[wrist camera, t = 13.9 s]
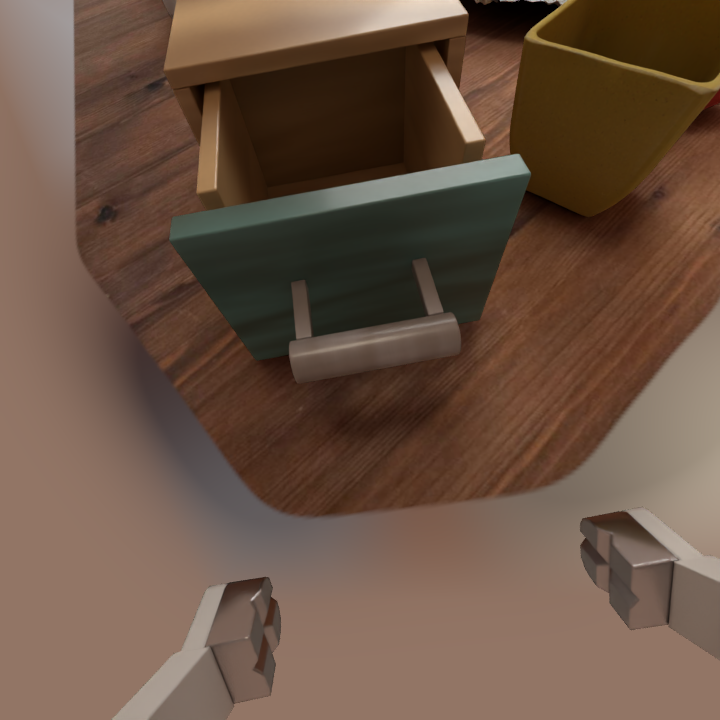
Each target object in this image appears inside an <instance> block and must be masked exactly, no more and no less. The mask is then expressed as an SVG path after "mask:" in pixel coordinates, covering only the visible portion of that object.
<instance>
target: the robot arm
mask: <svg viewBox="0 0 720 720" xmlns="http://www.w3.org/2000/svg"><path fill="white" fill-rule="evenodd" d="M580 531H581V532H582V534H583V535H584V536H585V537H586V538H585V540H584V541H583V542H582V544H581V545H580V546H581V547H580V548H581V558H582V561H583V564H584V567H585V569H586V571H587V573H588V574H589V576H590V577H591V579H592V580H593V582H594V583H595V585H596V586H597V587H599V588H601V589H603V590H604V591H606V592H608V593H609V596H610V604H611V606H612V607H613V608H614V609H615V611H616V612H617V613H618V615H619V616H620V617H621V618H622V620H623V621H624V622H625V624H626V625H627V626H628V628H629V629H630V630H635V629H641V628H648V627H654V626H661V625H668V624H669V627H670V628H671V629H673V630H674V631H676V632H677V633H679V634H680V635H682V636H683V637H685V638H686V639H688V640H690V641H691V642H693V643H694V644H696V645H697V646H699V647H700V648H702V649H703V650H705V651H706V652H708V653H709V654H711V655H712V656H714V657H715V658H717V659H718V660H720V559H719V558H717V557H714V556H711V555H707V556H703V555H702V554H701V553H700V552H698V551H697V550H696V549H695V548H694V547H692V546H691V545H690V544H689V543H688V542H687V541H685V540H684V539H683V538H682V537H681V536H679V535H678V534H677V533H676V532H675V531H673V530H672V529H671V528H670V527H669V526H667V525H666V524H665V523H664V522H663V521H661V520H660V519H659V518H658V517H657V516H655V515H654V514H653V513H652V512H650V511H649V510H648V509H646V508H643V507H638V508H634V509H628V510H624V511H621V512H619V511H618V512H613V513H608V514H603V515H598V516H592V517H587V518H583V519H582V521H581V523H580ZM272 588H273V587H272V585H271V582H270V579H269V578H268V577H263V578H256V579H249V580H243V581H237V582H230V583H227V584H220V585H214V586H210V587H208V589H207V590H206V591H205V592H204V595H203V597H202V600H201V602H200V604H199V607H198V609H197V612H196V614H195V617H194V619H193V622H192V624H191V627H190V629H189V632H188V635H187V637H186V639H185V642H184V644H183V647H182V649H181V652H178V653H174V654H173V655H172V656H171V657H170V658H169V659H168V660H167V661H166V662H165V664H164V665H163V666H162V667H161V668H160V669H159V670H158V671H157V672H156V673H155V674H154V675H153V676H152V677H151V678H150V679H149V680H148V681H147V683H145V685H144V686H143V687H142V688H141V689H140V690H139V691H138V692H137V693H136V694H135V695H134V696H133V697H132V698H131V699H130V700H129V701H128V703H127V704H126V705H125V706H124V707H123V708H122V709H121V710H120V711H119V712H118V713H117V714H116V715H115V716H114V717H113V718H112V719H111V720H226V719H227V717H228V716H229V714H230V712H231V711H232V709H233V707H234V704H235V703H240V702H244V701H248V700H253V699H258V698H263V697H267V696H270V695H271V690H272V684H273V677H274V671H275V666H276V664H275V660H274V658H273V654H272V653H273V652H274V650H275V649H276V648H277V646H278V645H279V640H280V633H281V632H280V631H281V617H280V611H279V606H278V603H277V601H276V600H275V599H273V598H272V597H271V593H272Z"/></svg>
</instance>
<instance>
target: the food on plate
mask: <svg viewBox="0 0 720 720" xmlns="http://www.w3.org/2000/svg"><path fill="white" fill-rule="evenodd" d="M474 1H475V2H476V3H479V2H481V3H483V4H484V5H485V4H487V3H491V2H492V1H493V0H474ZM494 1H496V2H497V1H498V0H494ZM500 1H501V2H513V1H518V0H500ZM526 1H530V2H537V1H545V3H546V4H548V5H551V4H553V3H554V4H556V5H558V6H561V5H562V4H564V3H565V2H566V1H568V0H526Z"/></svg>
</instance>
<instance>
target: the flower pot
mask: <svg viewBox="0 0 720 720" xmlns="http://www.w3.org/2000/svg"><path fill="white" fill-rule="evenodd" d="M719 89H720V0H568V1H566V2H565V3H564V4H562V5H561V6H560V7H559V8H557V9H556V10H555V11H553V12H552V13H551V14H549V15H548V16H547V17H545V18H544V19H543V20H541V21H540V22H539V23H538V24H537V25H535V26H534V27H533V28H532V29H531V30H530V31H529V32H528V33H527V34H526V36H525V37H524V43H523V49H522V56H521V62H520V68H519V74H518V80H517V86H516V92H515V99H514V105H513V112H512V118H511V126H510V153H511V155H512V154H520V156H521V157H522V159H523V161H524V162H525V164H526V166H527V167H528V169H529V171H530V172H531V177H530V180H529V182H528V185H527V188H526V190H527V191H529V192H531V193H534V194H536V195H538V196H541V197H543V198H545V199H547V200H550V201H552V202H554V203H556V204H558V205H561V206H563V207H565V208H567V209H569V210H572V211H574V212H576V213H578V214H580V215H583V216H586V217H591V216H594V215H596V214H598V213H600V212H603V211H604V210H606V209H608V208H610V207H612V206H613V205H615V204H616V203H618V202H619V201H620V200H622V199H623V198H625V197H626V196H627V195H628V194H629V193H631V192H632V191H633V190H634V189H635V188H636V187H637V186H638V185H639V184H640V183H641V182H642V181H643V180H644V179H645V178H646V177H647V176H648V175H649V174H650V173H651V172H652V170H653V169H654V168H655V167H656V166H657V164H658V163H659V162H660V161H661V160H662V158H663V157H664V156H665V155H666V154H667V152H668V151H669V150H670V149H671V147H672V146H673V145H674V144H675V143H676V141H677V140H678V139H679V138H680V137H681V135H682V134H683V133H684V132H685V131H686V129H687V128H688V127H689V126H690V124H691V123H692V122H693V121H694V120H695V118H696V117H697V116H698V115H699V114H700V112H701V111H702V110H703V109H704V108H705V106H706V105H707V104H708V103H709V102H710V100H711V99H712V98H713V97H714V95H715V94H716V93H717V92H718V91H719Z"/></svg>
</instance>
